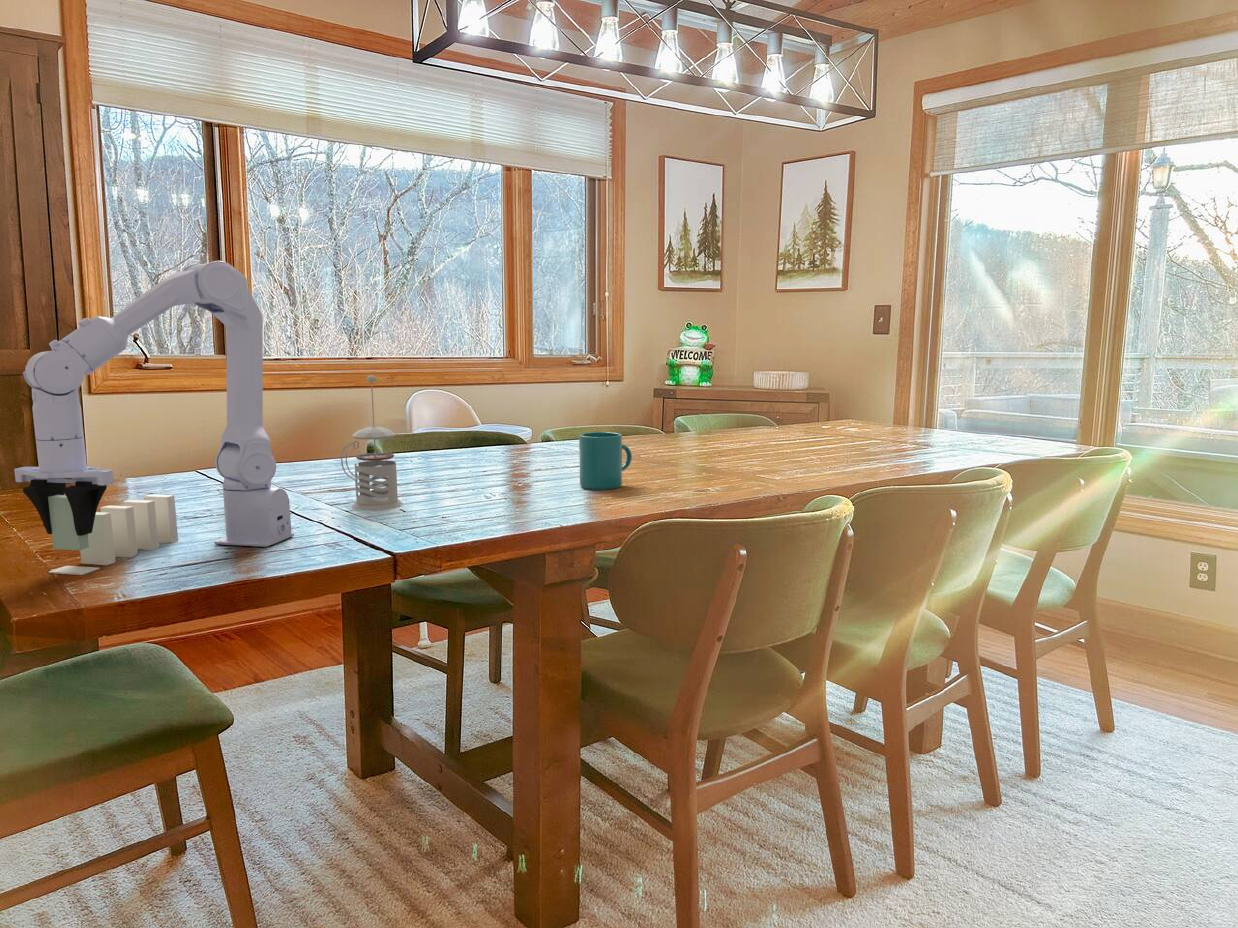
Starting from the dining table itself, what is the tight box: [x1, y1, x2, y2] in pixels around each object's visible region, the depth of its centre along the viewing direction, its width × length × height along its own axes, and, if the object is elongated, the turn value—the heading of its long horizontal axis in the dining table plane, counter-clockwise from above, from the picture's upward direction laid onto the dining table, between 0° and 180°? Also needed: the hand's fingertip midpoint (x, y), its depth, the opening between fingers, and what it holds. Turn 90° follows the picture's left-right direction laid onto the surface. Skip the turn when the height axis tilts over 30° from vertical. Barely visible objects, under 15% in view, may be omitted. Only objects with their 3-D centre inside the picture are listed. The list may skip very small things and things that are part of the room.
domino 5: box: [142, 494, 179, 544], centre depth 144 cm, size 2×4×8 cm, turn 78°
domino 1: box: [48, 494, 89, 551], centre depth 126 cm, size 2×4×8 cm, turn 78°
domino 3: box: [99, 505, 139, 558], centre depth 135 cm, size 2×4×8 cm, turn 78°
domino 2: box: [79, 511, 116, 566], centre depth 131 cm, size 2×4×8 cm, turn 78°
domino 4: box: [122, 499, 159, 551], centre depth 139 cm, size 2×4×8 cm, turn 78°
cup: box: [578, 431, 633, 491], centre depth 190 cm, size 9×12×11 cm
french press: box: [340, 375, 404, 511], centre depth 170 cm, size 10×12×25 cm
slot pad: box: [48, 565, 101, 576], centre depth 127 cm, size 6×3×1 cm, turn 78°
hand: (69, 533), depth 126 cm, fingers closed on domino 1, 4 cm apart
